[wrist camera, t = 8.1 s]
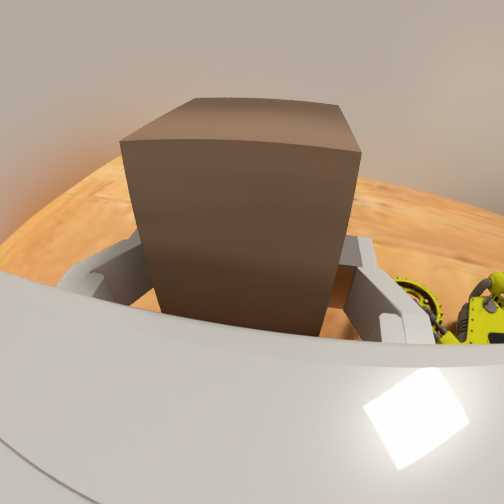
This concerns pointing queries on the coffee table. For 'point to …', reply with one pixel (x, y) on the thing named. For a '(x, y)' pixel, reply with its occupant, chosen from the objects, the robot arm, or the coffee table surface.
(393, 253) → the coffee table surface
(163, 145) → the pillar
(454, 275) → the coffee table surface
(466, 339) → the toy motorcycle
